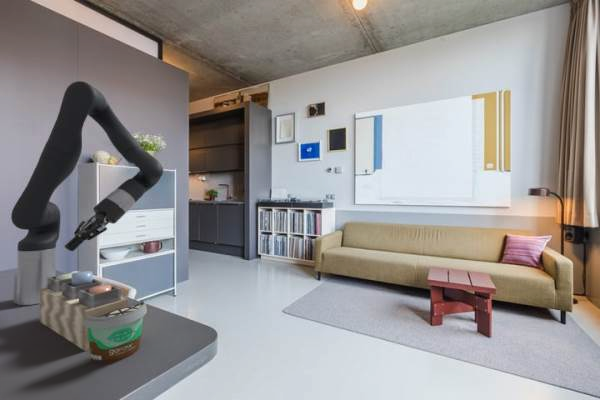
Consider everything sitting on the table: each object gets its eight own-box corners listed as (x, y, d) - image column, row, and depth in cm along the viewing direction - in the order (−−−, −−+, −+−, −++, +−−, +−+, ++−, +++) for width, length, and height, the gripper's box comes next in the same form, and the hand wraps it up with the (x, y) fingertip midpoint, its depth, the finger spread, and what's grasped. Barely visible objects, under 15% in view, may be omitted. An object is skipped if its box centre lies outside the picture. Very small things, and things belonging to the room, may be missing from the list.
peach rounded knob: (85, 301, 67) (85, 288, 67) (105, 296, 70) (106, 284, 70) (94, 305, 64) (94, 292, 64) (114, 299, 68) (114, 287, 68)
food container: (96, 374, 53) (96, 323, 53) (82, 364, 57) (83, 316, 57) (157, 346, 64) (157, 304, 64) (143, 339, 67) (143, 298, 67)
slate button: (68, 286, 72) (68, 273, 72) (88, 281, 76) (88, 270, 76) (75, 289, 70) (75, 276, 70) (95, 284, 73) (95, 272, 73)
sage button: (53, 287, 77) (53, 276, 77) (72, 283, 81) (72, 272, 81) (59, 290, 75) (59, 278, 75) (79, 285, 78) (79, 274, 78)
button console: (39, 321, 76) (40, 278, 76) (78, 310, 84) (79, 271, 84) (85, 351, 61) (86, 298, 62) (127, 334, 69) (128, 287, 69)
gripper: (96, 197, 89) (47, 239, 79) (116, 197, 83) (66, 243, 72) (113, 212, 94) (69, 254, 84) (134, 214, 87) (89, 259, 77)
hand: (68, 249), depth 78 cm, fingers closed
